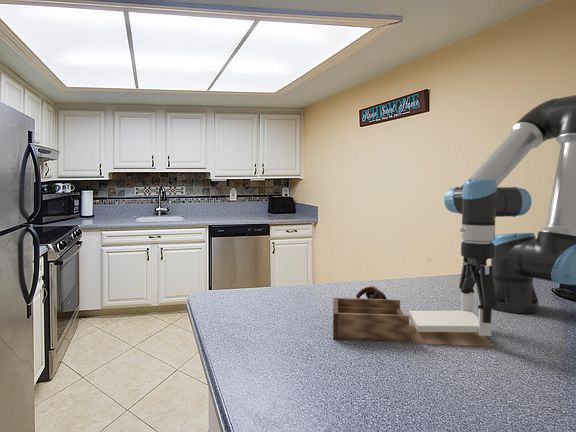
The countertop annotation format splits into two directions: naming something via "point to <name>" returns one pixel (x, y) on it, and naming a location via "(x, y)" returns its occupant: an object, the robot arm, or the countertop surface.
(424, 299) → the countertop surface
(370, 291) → the pottery mug
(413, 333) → the cork mat
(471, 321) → the cover plate
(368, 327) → the walnut box
